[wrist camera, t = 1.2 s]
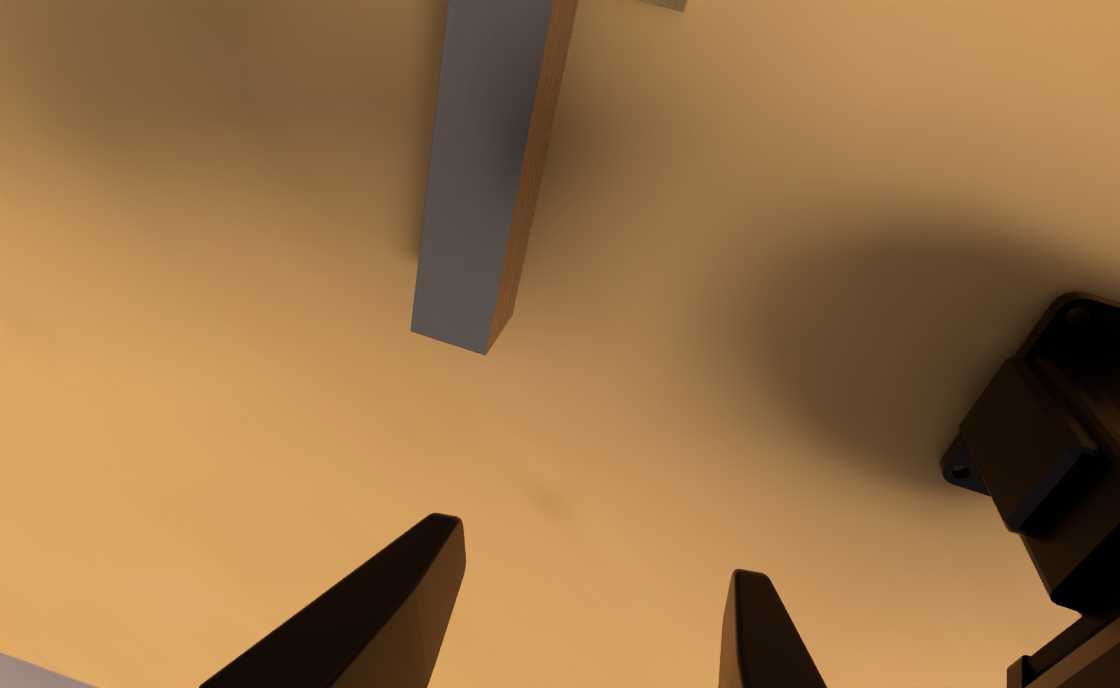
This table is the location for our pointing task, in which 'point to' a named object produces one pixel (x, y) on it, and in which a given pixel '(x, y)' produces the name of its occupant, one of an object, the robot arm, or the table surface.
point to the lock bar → (487, 162)
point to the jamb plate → (669, 4)
